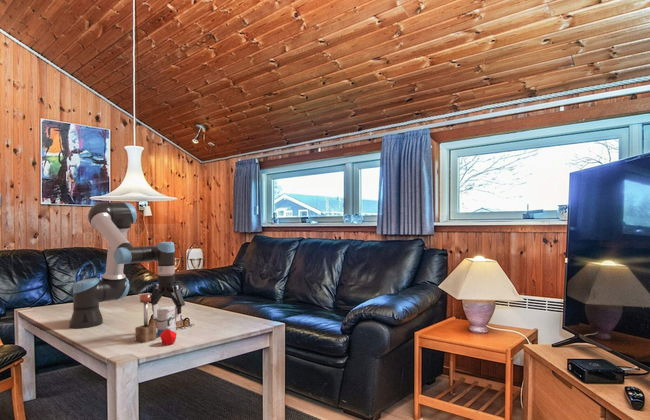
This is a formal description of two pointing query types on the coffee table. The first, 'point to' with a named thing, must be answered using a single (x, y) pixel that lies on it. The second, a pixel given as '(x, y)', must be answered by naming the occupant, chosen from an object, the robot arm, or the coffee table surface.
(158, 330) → the ink box
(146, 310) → the awl
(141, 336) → the awl socket
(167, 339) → the apple
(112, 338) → the coffee table surface
